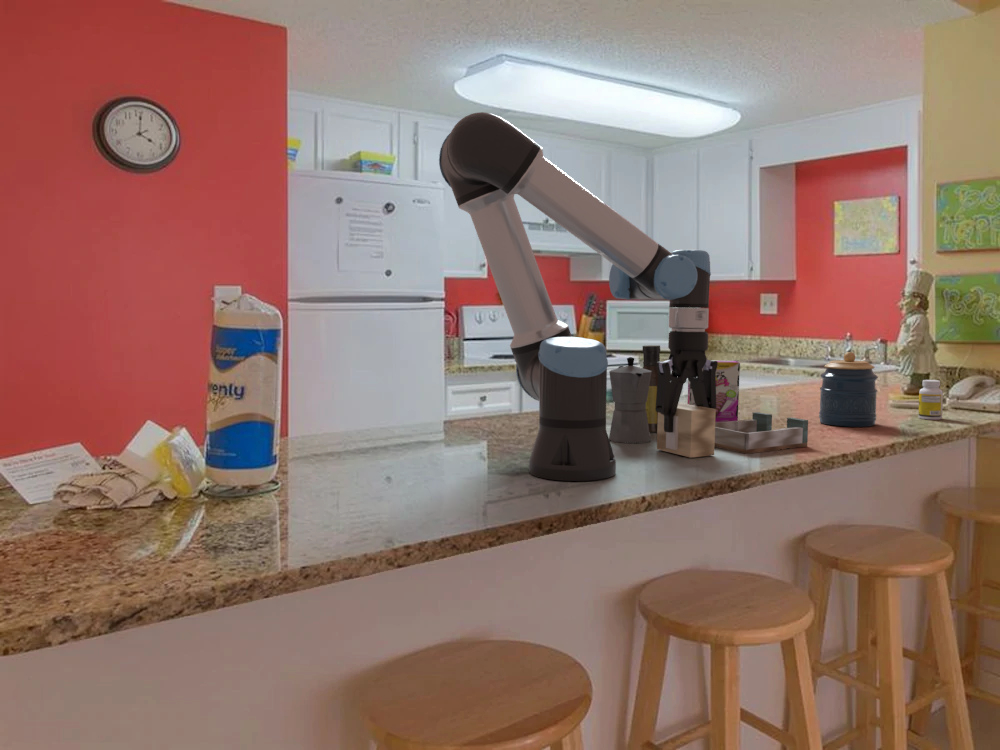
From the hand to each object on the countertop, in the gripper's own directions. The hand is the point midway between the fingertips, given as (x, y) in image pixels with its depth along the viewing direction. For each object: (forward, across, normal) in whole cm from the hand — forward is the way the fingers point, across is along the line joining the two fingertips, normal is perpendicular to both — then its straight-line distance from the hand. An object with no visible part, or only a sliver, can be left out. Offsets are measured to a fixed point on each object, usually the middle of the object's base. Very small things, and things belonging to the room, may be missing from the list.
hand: (685, 447), depth 161 cm
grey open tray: (+1, +19, +1) cm, 19 cm away
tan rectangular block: (+1, 0, 0) cm, 1 cm away
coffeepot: (+1, 0, +19) cm, 19 cm away
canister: (+1, +61, +12) cm, 62 cm away
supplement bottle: (+1, +87, +8) cm, 88 cm away
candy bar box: (+1, +24, +19) cm, 31 cm away
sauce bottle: (+1, +12, +26) cm, 29 cm away
